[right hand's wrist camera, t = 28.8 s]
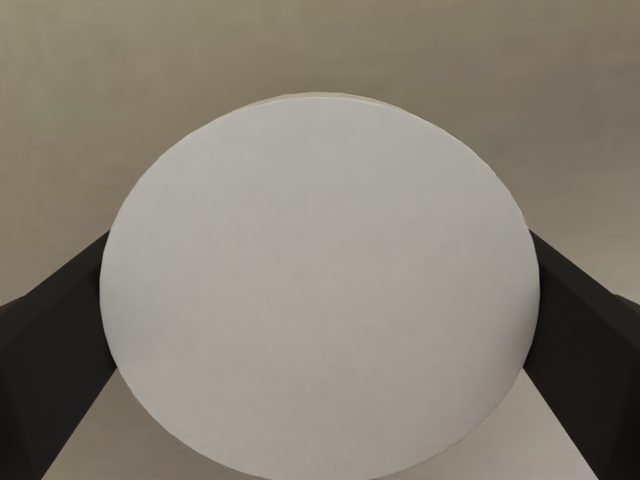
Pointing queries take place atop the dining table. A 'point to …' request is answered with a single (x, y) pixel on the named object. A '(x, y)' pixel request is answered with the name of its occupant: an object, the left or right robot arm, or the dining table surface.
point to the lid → (319, 289)
